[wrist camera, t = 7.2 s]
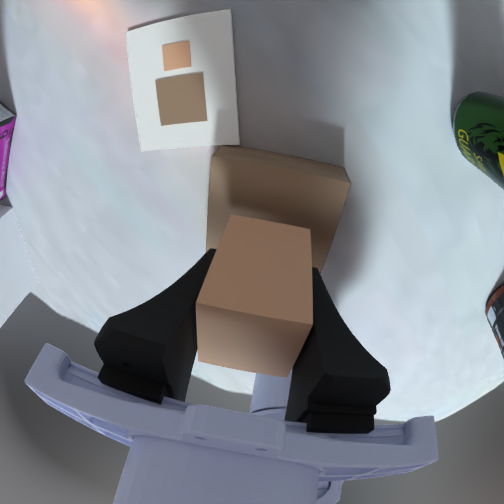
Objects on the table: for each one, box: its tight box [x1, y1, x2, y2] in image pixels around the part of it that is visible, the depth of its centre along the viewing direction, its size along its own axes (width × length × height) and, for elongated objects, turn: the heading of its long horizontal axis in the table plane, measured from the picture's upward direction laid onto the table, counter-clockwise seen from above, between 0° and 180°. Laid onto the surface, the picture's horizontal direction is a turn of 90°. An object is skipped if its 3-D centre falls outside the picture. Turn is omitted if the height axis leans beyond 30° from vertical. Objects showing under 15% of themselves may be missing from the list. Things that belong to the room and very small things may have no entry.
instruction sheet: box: [126, 9, 240, 152], centre depth 15 cm, size 9×7×1 cm
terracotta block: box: [196, 214, 313, 378], centre depth 13 cm, size 4×4×6 cm
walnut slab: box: [206, 145, 351, 273], centre depth 19 cm, size 8×8×3 cm
